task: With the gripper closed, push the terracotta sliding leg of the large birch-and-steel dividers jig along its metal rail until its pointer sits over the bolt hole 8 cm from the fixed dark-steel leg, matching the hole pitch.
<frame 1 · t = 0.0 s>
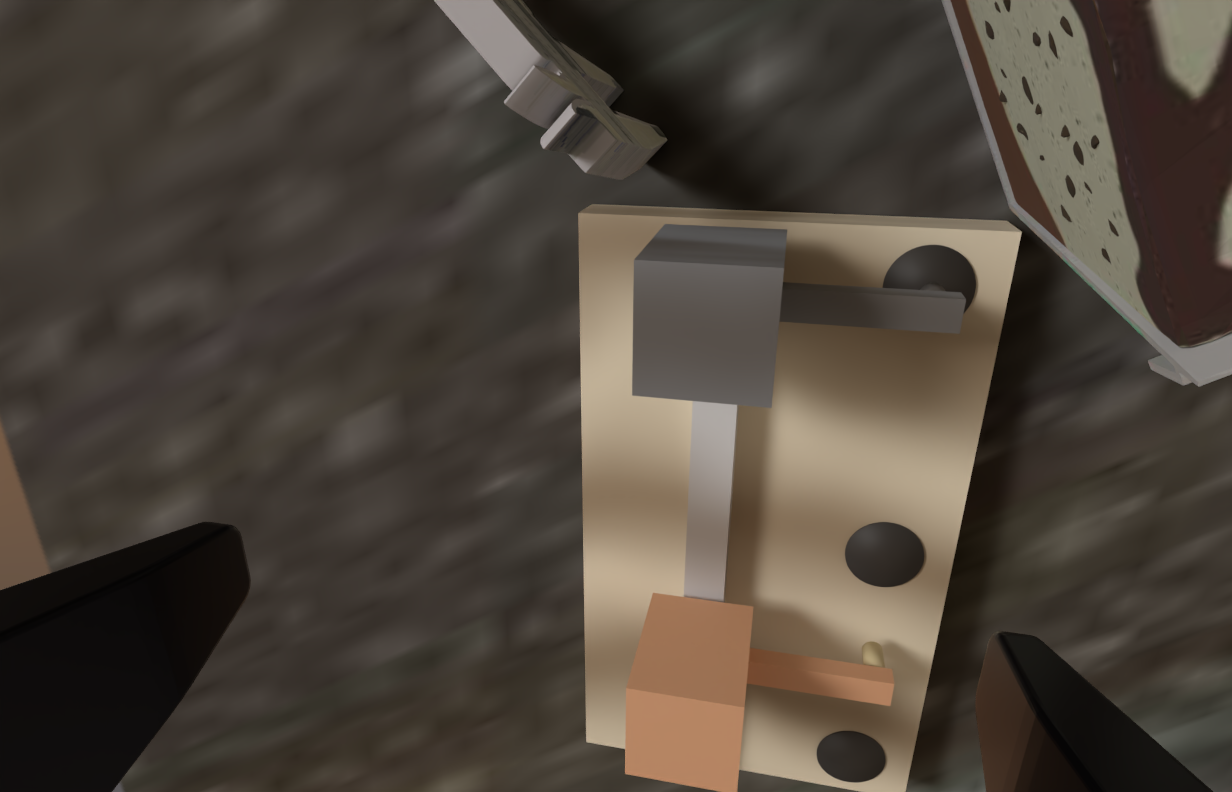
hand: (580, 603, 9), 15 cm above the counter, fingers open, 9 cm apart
hole plate: (761, 513, 25), on the counter
sliding leg: (764, 689, 22), point 4 cm above the counter, slide at 11.0 cm
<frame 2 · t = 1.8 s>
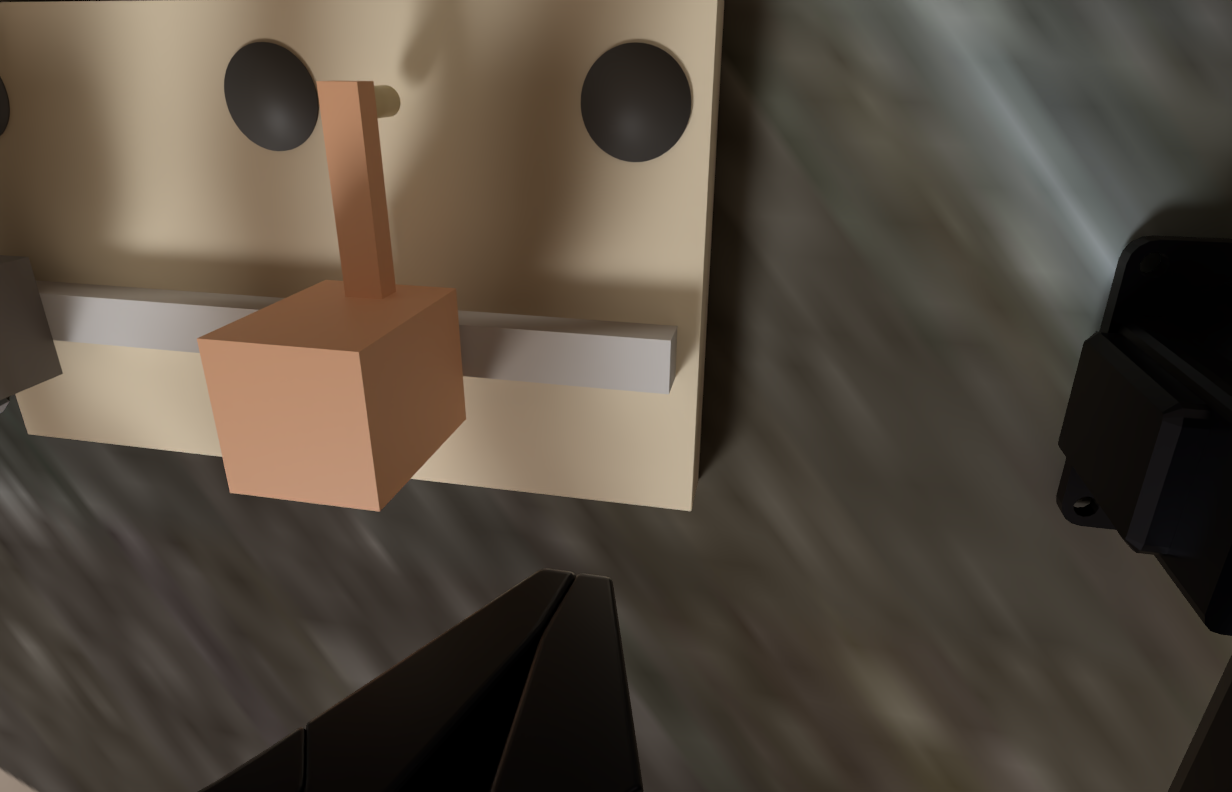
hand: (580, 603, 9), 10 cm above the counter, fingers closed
hole plate: (332, 248, 20), on the counter
sliding leg: (346, 280, 15), point 4 cm above the counter, slide at 11.0 cm
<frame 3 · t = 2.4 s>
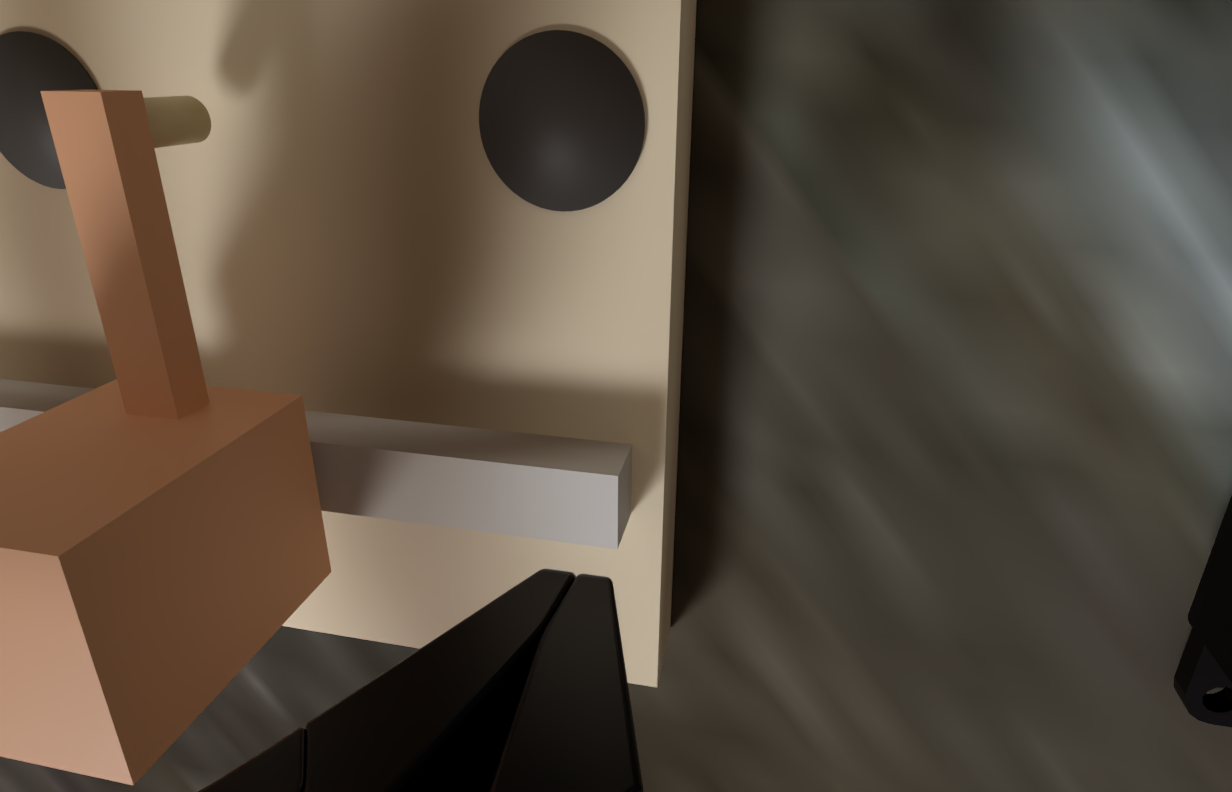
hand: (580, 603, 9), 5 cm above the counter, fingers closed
hole plate: (170, 315, 14), on the counter
sliding leg: (109, 398, 10), point 4 cm above the counter, slide at 11.0 cm
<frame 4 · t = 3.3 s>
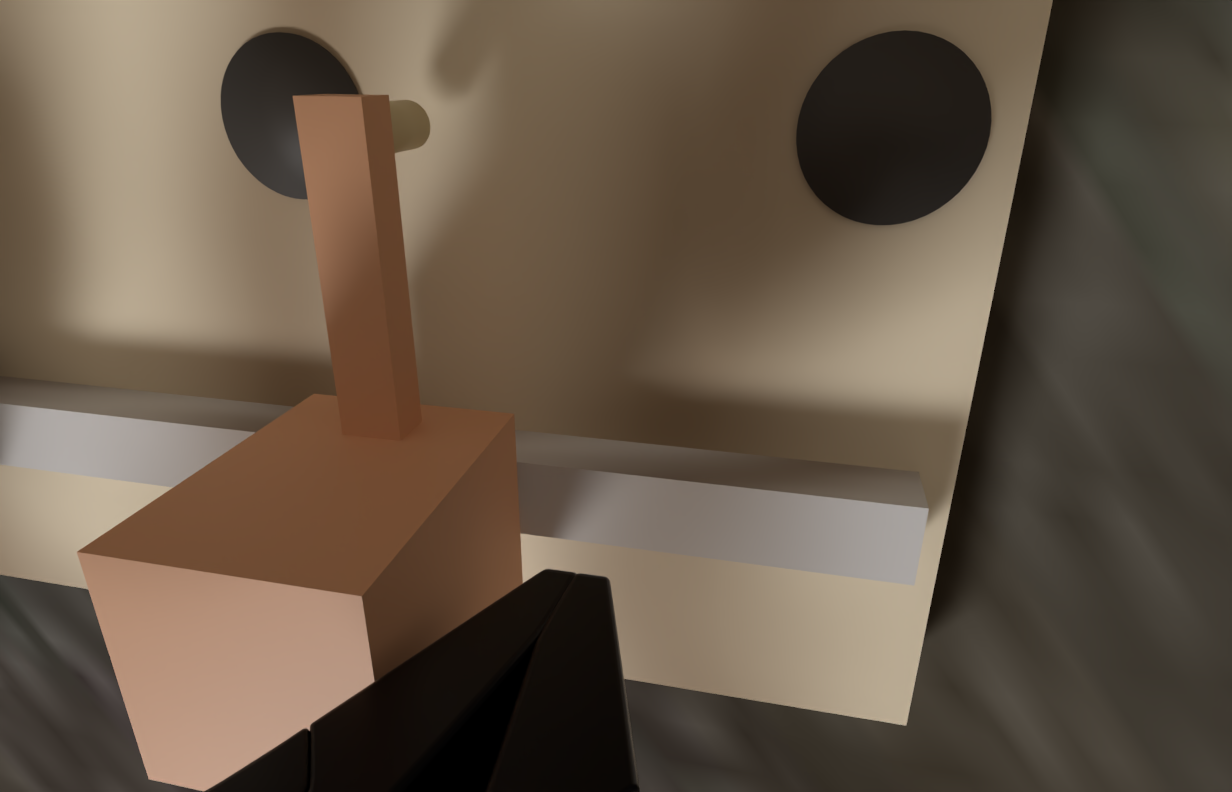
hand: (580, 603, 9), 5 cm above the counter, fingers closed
hole plate: (376, 330, 14), on the counter
sliding leg: (342, 419, 9), point 4 cm above the counter, slide at 10.0 cm, touching gripper
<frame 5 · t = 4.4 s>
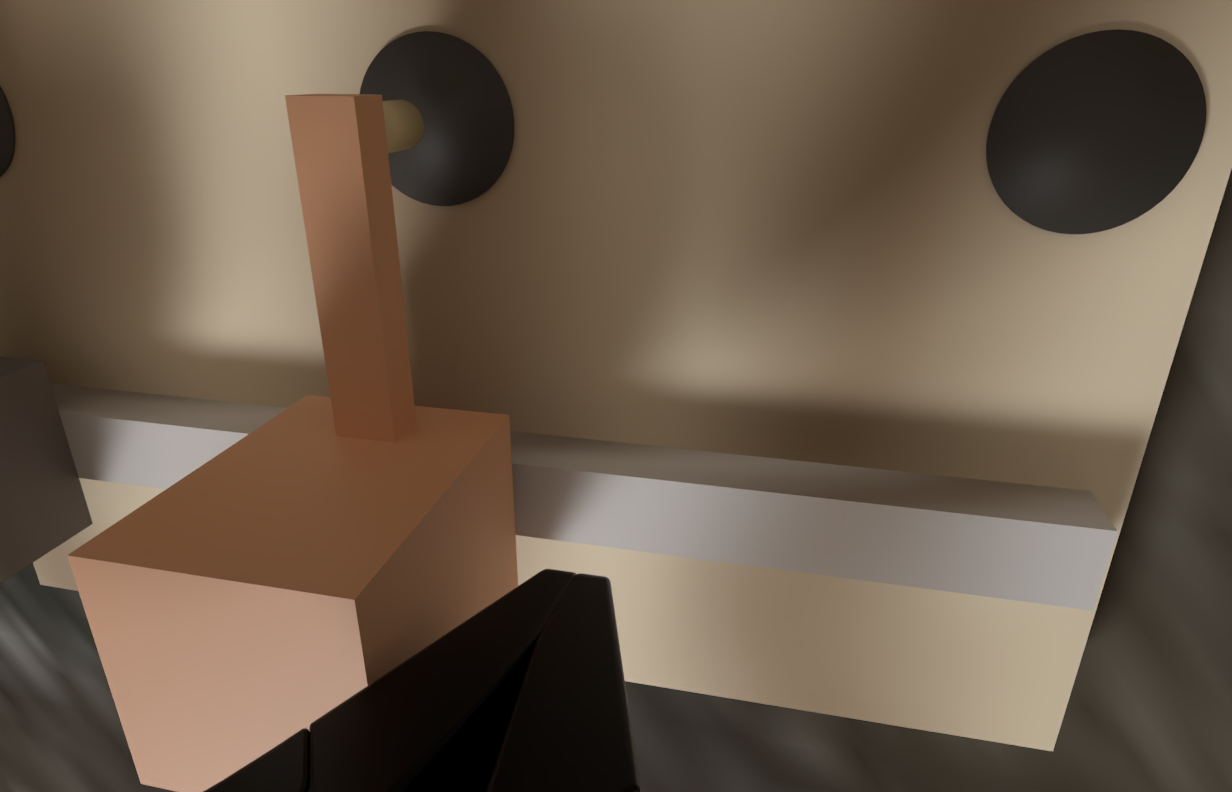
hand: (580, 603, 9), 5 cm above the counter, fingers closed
hole plate: (491, 340, 13), on the counter
sliding leg: (336, 421, 9), point 4 cm above the counter, slide at 7.8 cm, touching gripper
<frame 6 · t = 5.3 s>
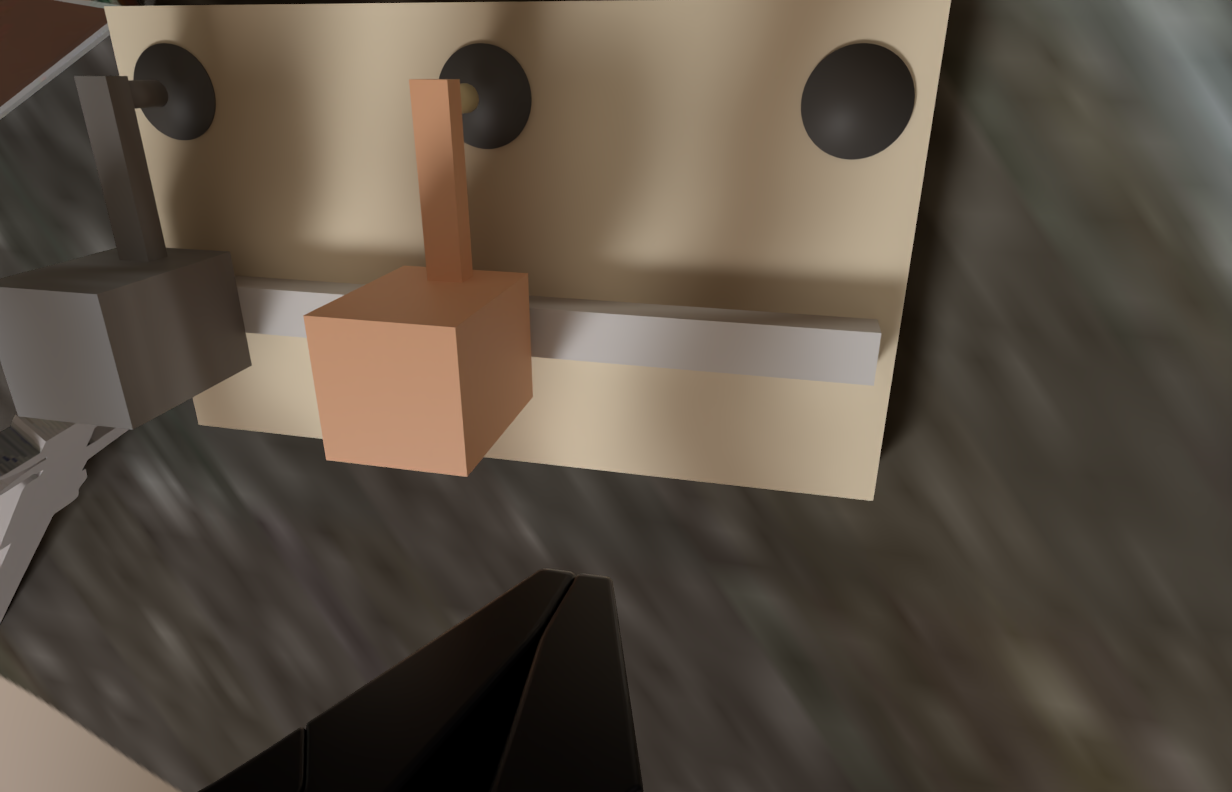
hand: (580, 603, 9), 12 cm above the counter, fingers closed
caliper: (67, 518, 28), on the counter
hole plate: (514, 244, 20), on the counter
sliding leg: (431, 264, 16), point 4 cm above the counter, slide at 7.8 cm
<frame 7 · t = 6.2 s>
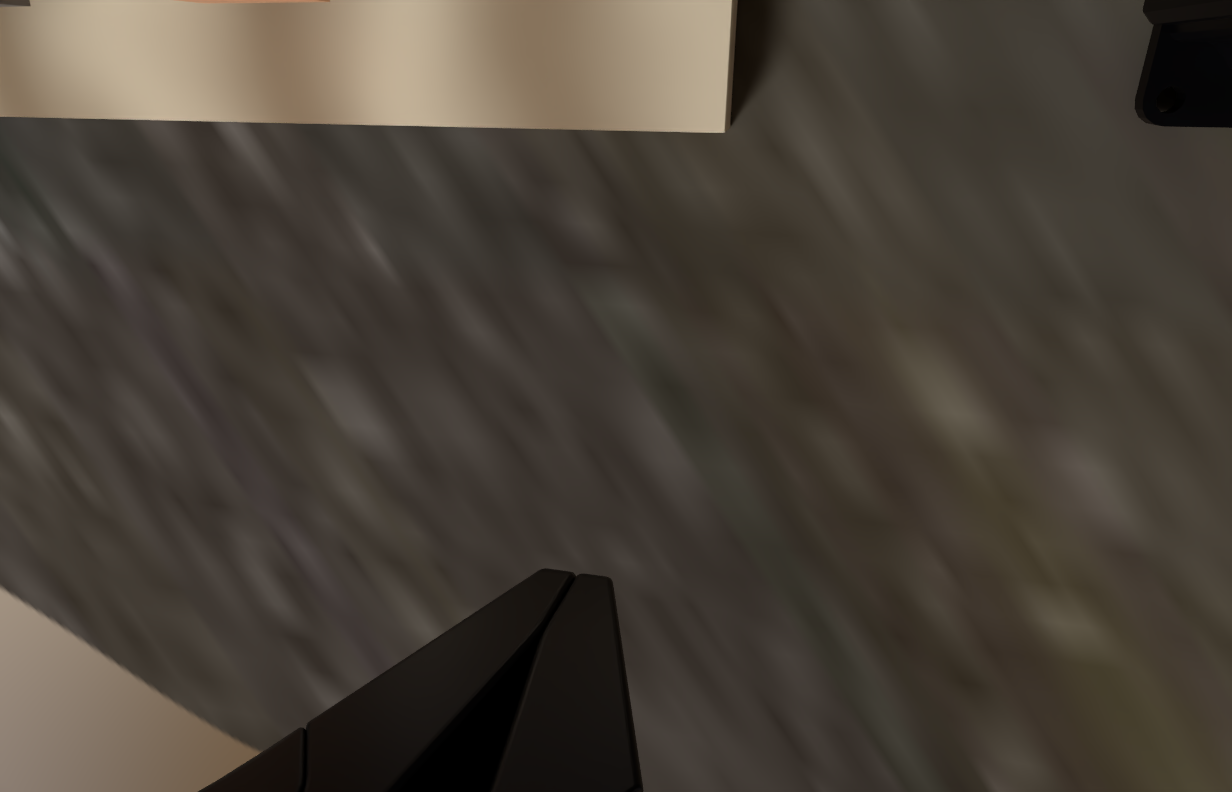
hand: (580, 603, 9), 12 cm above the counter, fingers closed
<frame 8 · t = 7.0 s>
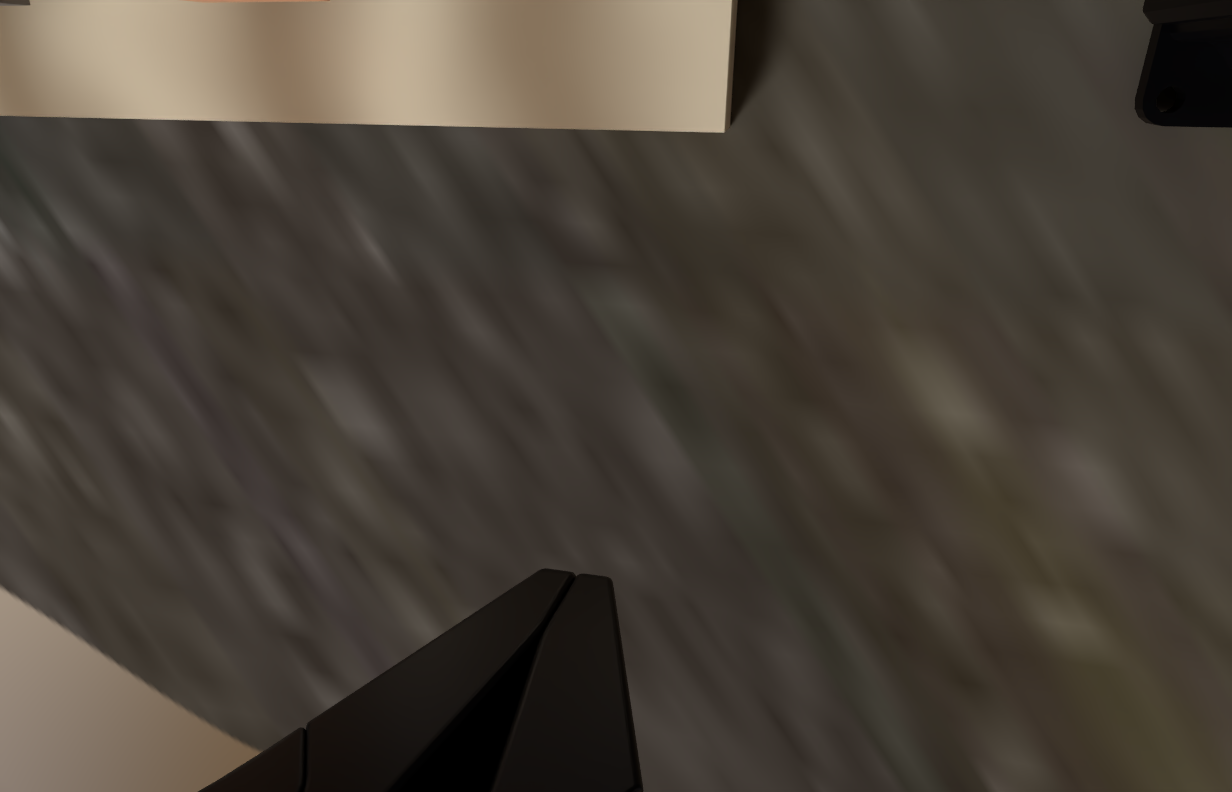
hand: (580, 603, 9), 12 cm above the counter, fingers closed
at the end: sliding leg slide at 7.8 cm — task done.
